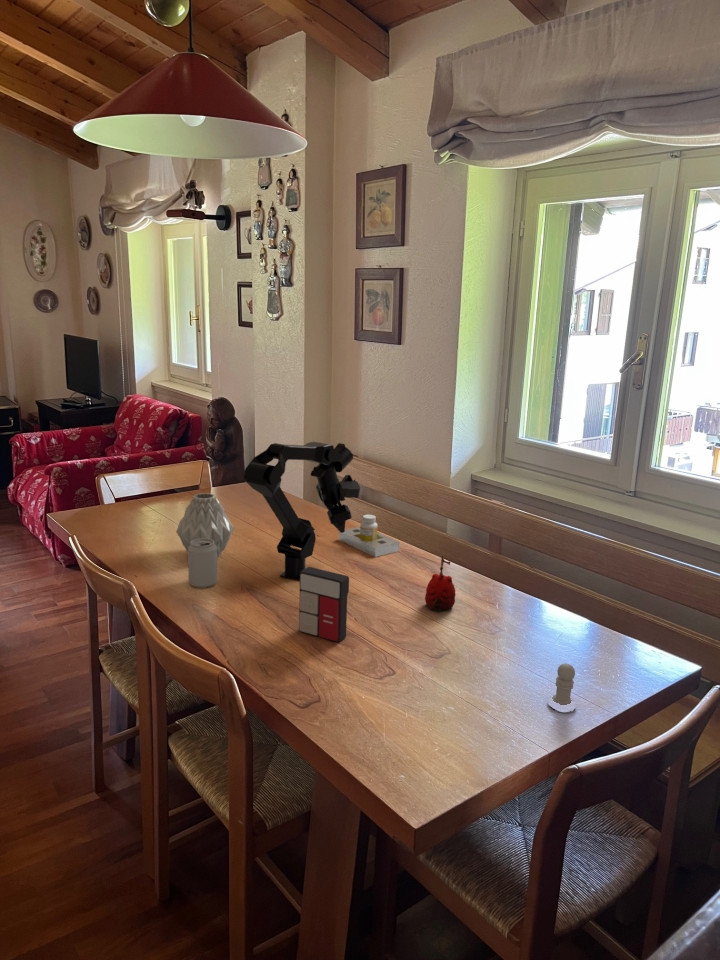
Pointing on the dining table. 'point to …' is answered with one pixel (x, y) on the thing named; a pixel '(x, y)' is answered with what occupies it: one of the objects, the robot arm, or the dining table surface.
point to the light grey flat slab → (369, 543)
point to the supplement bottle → (368, 528)
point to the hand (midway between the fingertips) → (338, 523)
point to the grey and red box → (323, 603)
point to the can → (202, 563)
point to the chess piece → (564, 684)
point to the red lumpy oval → (440, 591)
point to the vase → (205, 522)
